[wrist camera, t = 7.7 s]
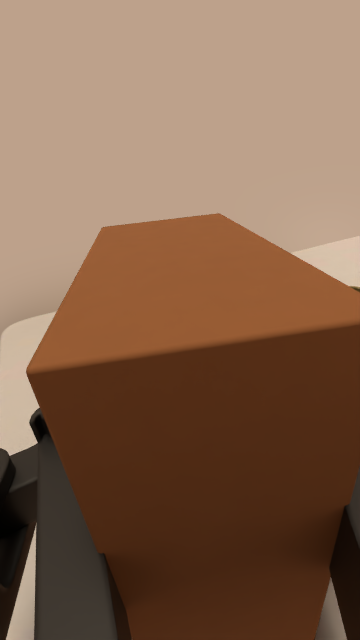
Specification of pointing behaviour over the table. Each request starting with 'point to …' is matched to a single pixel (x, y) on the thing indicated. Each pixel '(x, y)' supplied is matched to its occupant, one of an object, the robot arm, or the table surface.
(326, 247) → the table surface
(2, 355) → the table surface
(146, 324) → the brown rectangular block
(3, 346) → the table surface
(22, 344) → the table surface
